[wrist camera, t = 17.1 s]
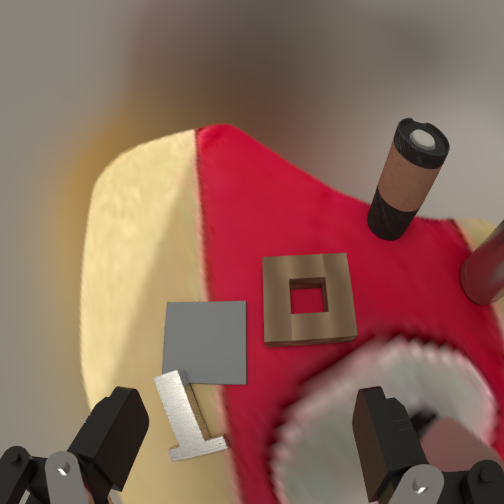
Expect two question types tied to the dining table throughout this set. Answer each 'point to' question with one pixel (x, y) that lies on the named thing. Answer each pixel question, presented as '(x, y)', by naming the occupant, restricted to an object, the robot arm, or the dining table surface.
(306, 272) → the socket block
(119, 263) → the dining table surface
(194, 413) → the t key
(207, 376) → the grey mat
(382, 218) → the travel mug
